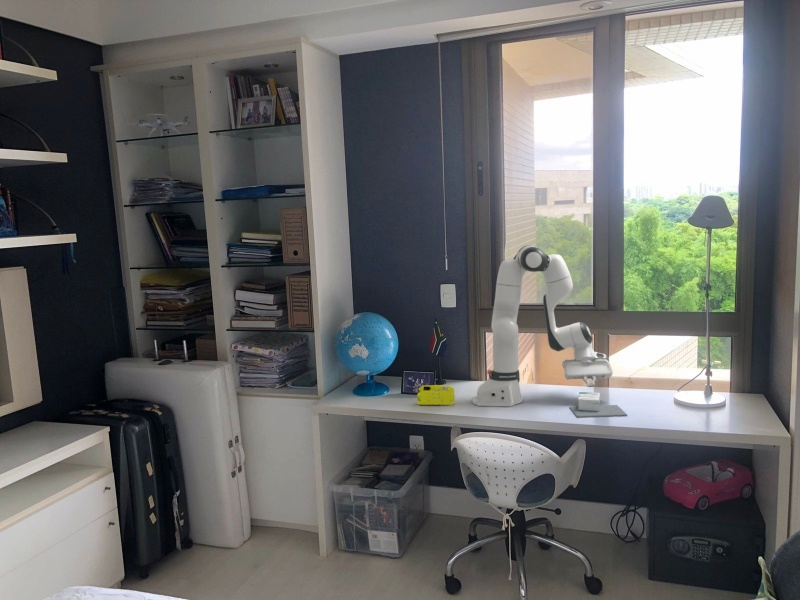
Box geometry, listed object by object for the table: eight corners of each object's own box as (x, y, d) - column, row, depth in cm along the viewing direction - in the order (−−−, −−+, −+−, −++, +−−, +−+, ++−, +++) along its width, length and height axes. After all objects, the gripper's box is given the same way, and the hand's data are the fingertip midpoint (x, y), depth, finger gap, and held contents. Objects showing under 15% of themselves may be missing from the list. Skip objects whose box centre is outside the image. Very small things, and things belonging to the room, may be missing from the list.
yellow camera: (454, 403, 291) (453, 385, 290) (453, 406, 285) (452, 388, 284) (419, 402, 294) (418, 385, 293) (417, 406, 288) (417, 388, 287)
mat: (577, 417, 261) (577, 416, 260) (569, 407, 274) (569, 406, 274) (627, 415, 260) (627, 414, 260) (616, 406, 274) (616, 404, 274)
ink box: (579, 402, 279) (577, 410, 268) (579, 391, 279) (577, 398, 267) (600, 403, 276) (599, 411, 265) (600, 392, 276) (599, 400, 265)
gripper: (562, 356, 282) (567, 383, 274) (609, 354, 282) (616, 381, 273) (560, 363, 287) (565, 390, 279) (606, 362, 287) (613, 389, 278)
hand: (591, 386), depth 276 cm, fingers closed
